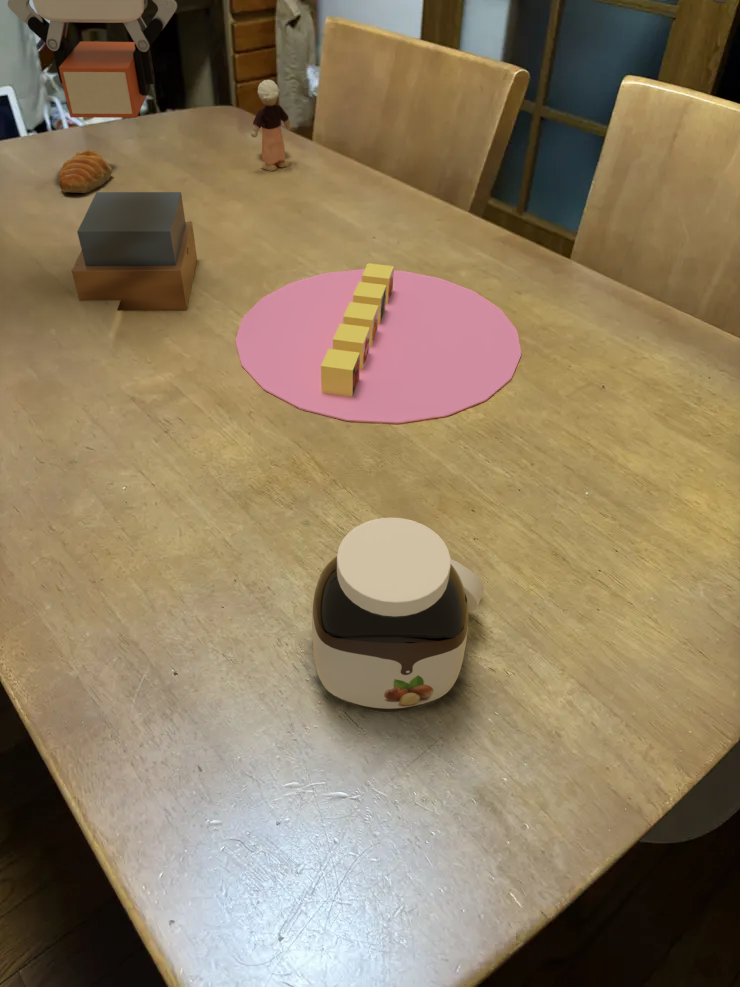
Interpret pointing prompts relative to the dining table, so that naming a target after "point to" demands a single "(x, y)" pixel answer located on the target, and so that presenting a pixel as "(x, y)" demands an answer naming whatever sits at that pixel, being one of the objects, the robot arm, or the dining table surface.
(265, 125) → the grandmother figurine
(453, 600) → the spread jar
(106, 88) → the orange box
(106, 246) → the box stack
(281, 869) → the dining table surface
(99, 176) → the pastry
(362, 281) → the platter
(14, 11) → the robot arm
